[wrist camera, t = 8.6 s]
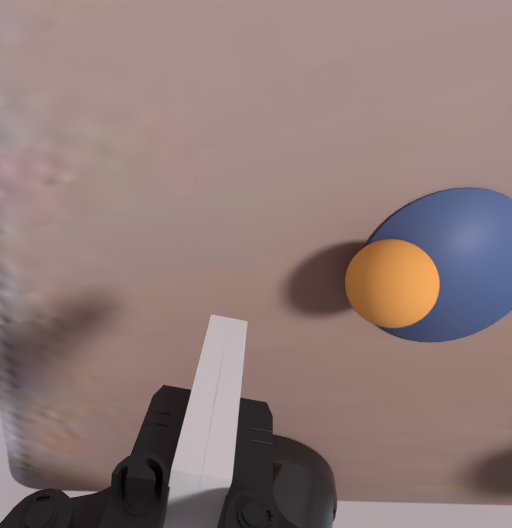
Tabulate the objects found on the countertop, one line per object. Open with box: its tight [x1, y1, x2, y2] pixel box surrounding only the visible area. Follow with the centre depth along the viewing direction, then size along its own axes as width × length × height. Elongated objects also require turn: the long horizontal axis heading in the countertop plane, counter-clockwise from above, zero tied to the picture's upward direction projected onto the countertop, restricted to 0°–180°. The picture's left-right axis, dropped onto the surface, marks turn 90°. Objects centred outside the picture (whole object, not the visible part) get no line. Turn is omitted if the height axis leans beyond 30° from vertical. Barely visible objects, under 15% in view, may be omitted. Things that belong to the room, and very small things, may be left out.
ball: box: [345, 239, 440, 328], centre depth 22 cm, size 6×6×6 cm
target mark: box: [368, 188, 512, 342], centre depth 25 cm, size 12×12×1 cm
